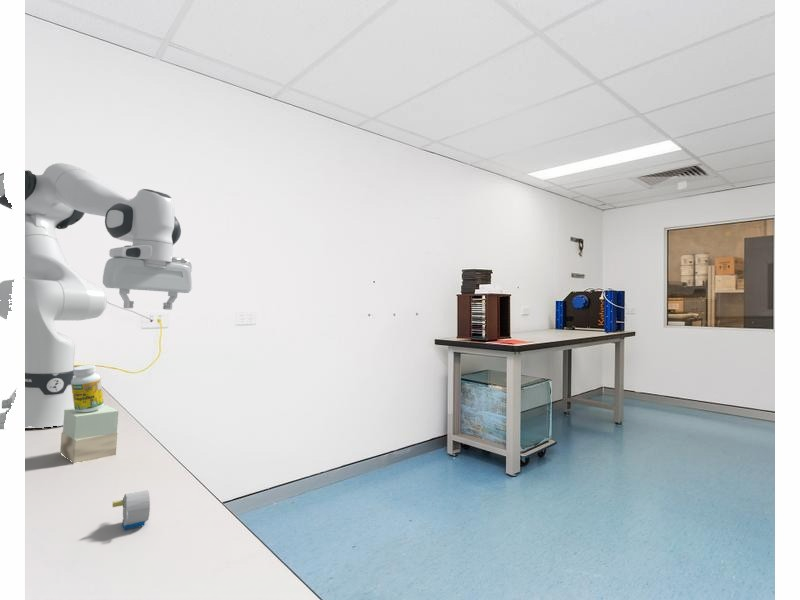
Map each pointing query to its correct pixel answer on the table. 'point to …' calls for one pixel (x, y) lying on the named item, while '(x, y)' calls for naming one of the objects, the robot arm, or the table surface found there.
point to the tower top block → (90, 422)
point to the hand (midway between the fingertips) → (148, 308)
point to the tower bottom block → (88, 447)
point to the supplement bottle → (86, 389)
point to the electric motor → (134, 509)
